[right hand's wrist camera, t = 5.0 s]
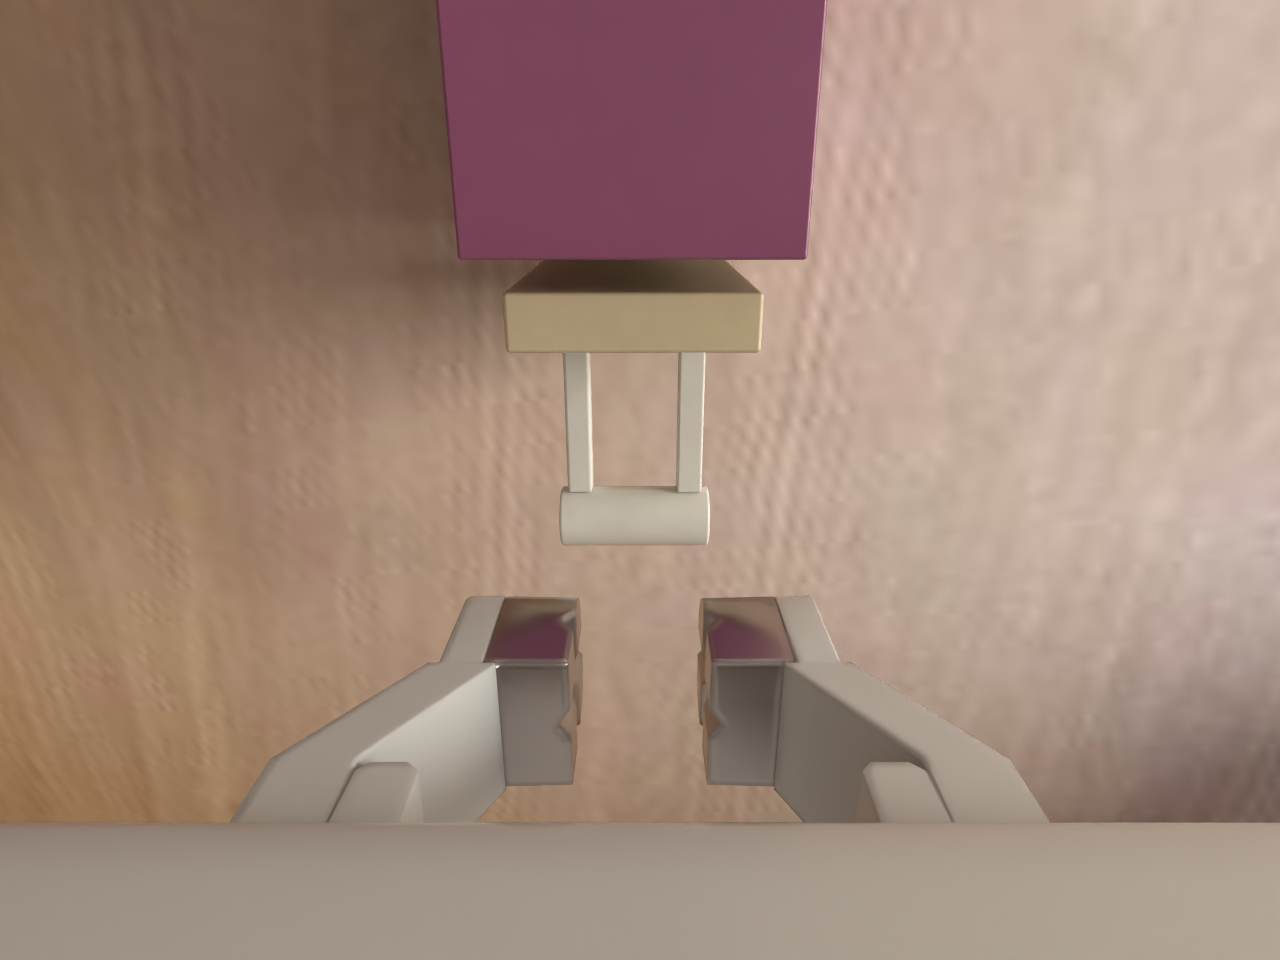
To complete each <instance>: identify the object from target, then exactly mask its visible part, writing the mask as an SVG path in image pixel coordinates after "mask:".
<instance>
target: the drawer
mask: <svg viewBox="0 0 1280 960" xmlns="http://www.w3.org/2000/svg"><path fill="white" fill-rule="evenodd" d="M763 303H764V296H763V293H762V292H761V291H759V290H758V289H757V288H756V287H755V286H754V285H753V284H752V283H751V282H749V281H748V280H747V279H746V278H745V277H744V276H743V275H742V274H741V273H740V272H738V271H737V270H736V269H735V268H734V267H733V266H732V265H731V264H730V263H728V262H727V261H726V260H544V261H543V262H541V263H540V264H539V265H538V266H537V267H535V268H534V269H533V270H532V271H531V272H529V273H528V274H527V275H526V276H524V277H523V278H522V279H521V280H520V281H518V282H517V283H516V284H515V285H514V286H512V287H511V288H510V289H509V290H508V291H506V292H505V293H504V294H503V310H504V325H505V341H506V349H507V351H508V352H510V353H563V367H564V393H565V419H566V445H567V471H568V486H565V487H563V488H562V490H561V496H560V512H559V521H560V538H561V542H562V544H563V545H707V543H708V540H709V530H710V504H709V493H708V489H707V487H705V486H701V479H702V447H703V416H704V384H705V353H756V352H759V351H760V349H761V337H762V320H763ZM590 353H678V404H677V459H676V486H593V447H592V407H591V367H590Z"/></svg>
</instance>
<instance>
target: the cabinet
mask: <svg viewBox="0 0 1280 960" xmlns="http://www.w3.org/2000/svg"><path fill="white" fill-rule="evenodd" d="M436 6H437V17H438V29H439V41H440V52H441V64H442V75H443V87H444V99H445V110H446V122H447V134H448V145H449V157H450V169H451V180H452V192H453V203H454V215H455V227H456V238H457V250H458V257H459V259H461V260H804V259H806V258H807V254H808V241H809V228H810V215H811V203H812V190H813V177H814V164H815V151H816V139H817V126H818V113H819V100H820V87H821V74H822V62H823V49H824V36H825V23H826V10H827V0H436Z"/></svg>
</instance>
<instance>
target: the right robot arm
mask: <svg viewBox="0 0 1280 960" xmlns="http://www.w3.org/2000/svg"><path fill="white" fill-rule="evenodd" d="M580 633H581V612H580V601H579V598H560V597H507V598H506V597H505V596H472V597H469V598H467V599H466V600H465V603H464V605H463V608H462V610H461V612H460V615H459V617H458V619H457V622H456V624H455V626H454V629H453V631H452V634H451V636H450V638H449V641H448V643H447V645H446V648H445V650H444V652H443V655H442V657H441V660H440V662H439V663H427V664H426V665H424V666H422V667H421V668H419V669H417V670H416V671H414V672H412V673H411V674H409V675H408V676H406V677H404V678H403V679H401V680H399V681H398V682H396V683H394V684H393V685H391V686H390V687H388V688H386V689H385V690H383V691H381V692H380V693H378V694H376V695H375V696H373V697H372V698H370V699H368V700H367V701H365V702H363V703H362V704H360V705H358V706H357V707H355V708H353V709H352V710H350V711H349V712H347V713H345V714H344V715H342V716H340V717H339V718H337V719H335V720H334V721H332V722H331V723H329V724H327V725H326V726H324V727H322V728H321V729H319V730H317V731H316V732H314V733H312V734H311V735H309V736H308V737H306V738H304V739H303V740H301V741H299V742H298V743H296V744H294V745H293V746H291V747H290V748H288V749H286V750H285V751H283V752H281V753H280V754H278V755H276V756H275V757H273V758H271V759H270V761H269V762H268V764H267V766H266V767H265V769H264V770H263V772H262V773H261V775H260V776H259V778H258V779H257V781H256V783H255V784H254V786H253V787H252V789H251V790H250V792H249V793H248V795H247V796H246V798H245V799H244V801H243V803H242V804H241V806H240V807H239V809H238V810H237V812H236V813H235V815H234V816H233V818H232V820H231V821H230V823H0V960H1280V823H1050V821H1049V820H1048V818H1047V817H1046V815H1045V814H1044V812H1043V810H1042V809H1041V807H1040V806H1039V804H1038V803H1037V801H1036V799H1035V798H1034V796H1033V795H1032V793H1031V792H1030V790H1029V789H1028V787H1027V785H1026V784H1025V782H1024V781H1023V779H1022V778H1021V776H1020V774H1019V773H1018V771H1017V770H1016V768H1015V767H1014V765H1013V764H1012V762H1011V760H1009V759H1008V758H1006V757H1004V756H1003V755H1001V754H1000V753H998V752H996V751H995V750H993V749H991V748H990V747H988V746H987V745H985V744H983V743H982V742H980V741H978V740H977V739H975V738H973V737H972V736H970V735H969V734H967V733H965V732H964V731H962V730H960V729H959V728H957V727H955V726H954V725H952V724H951V723H949V722H947V721H946V720H944V719H942V718H941V717H939V716H938V715H936V714H934V713H933V712H931V711H929V710H928V709H926V708H924V707H923V706H921V705H920V704H918V703H916V702H915V701H913V700H911V699H910V698H908V697H907V696H905V695H903V694H902V693H900V692H898V691H897V690H895V689H893V688H892V687H890V686H889V685H887V684H885V683H884V682H882V681H880V680H879V679H877V678H875V677H874V676H872V675H871V674H869V673H867V672H866V671H864V670H862V669H861V668H859V667H858V666H856V665H854V664H853V663H841V662H840V660H839V658H838V655H837V653H836V651H835V648H834V646H833V644H832V641H831V639H830V637H829V634H828V632H827V630H826V627H825V625H824V623H823V620H822V618H821V616H820V613H819V611H818V609H817V606H816V604H815V602H814V599H813V598H812V597H810V596H787V597H739V598H702V599H700V608H699V634H700V643H701V651H700V652H699V653H698V667H697V696H698V710H699V720H700V724H701V725H702V726H703V744H702V748H703V756H704V764H705V772H706V780H707V785H743V786H774V790H775V791H776V792H777V793H778V794H779V795H780V796H781V798H782V799H783V800H784V801H785V802H786V803H787V804H788V805H789V806H790V807H791V809H792V810H793V811H794V812H795V813H796V814H797V815H798V816H799V817H800V819H801V820H802V821H803V822H804V823H476V822H477V821H478V820H479V819H480V818H481V817H482V816H483V814H484V813H485V812H486V811H487V810H488V809H489V808H490V807H491V806H492V805H493V803H494V802H495V801H496V800H497V799H498V798H499V797H500V796H501V795H502V794H503V792H504V791H505V790H506V787H505V786H535V785H571V784H573V780H574V772H575V764H576V755H577V726H578V725H579V724H580V719H581V709H582V689H583V666H582V654H581V652H580V651H579V642H580Z"/></svg>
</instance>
